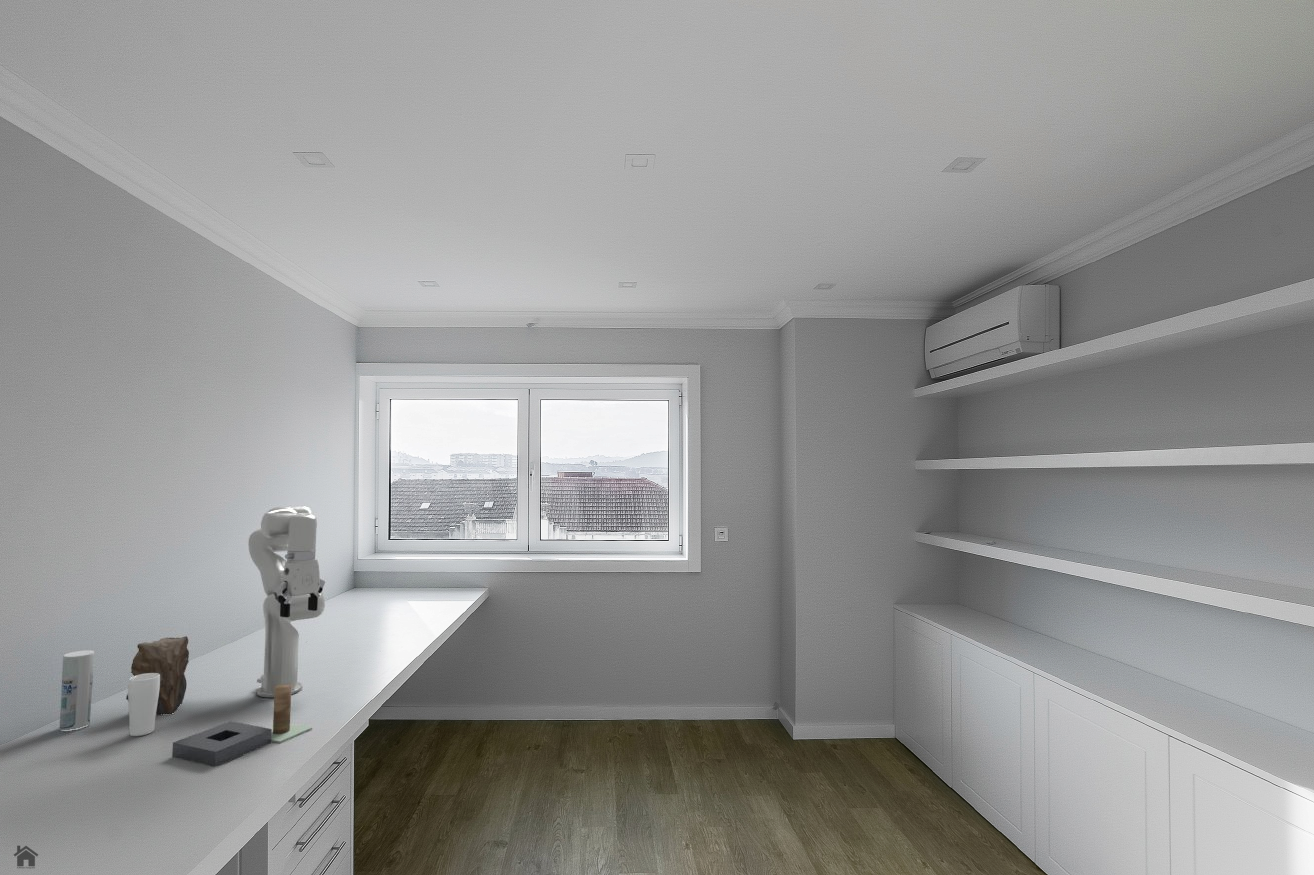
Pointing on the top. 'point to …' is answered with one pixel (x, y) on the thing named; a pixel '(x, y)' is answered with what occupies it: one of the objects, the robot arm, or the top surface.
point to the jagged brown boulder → (164, 669)
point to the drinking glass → (143, 703)
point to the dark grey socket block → (221, 743)
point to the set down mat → (289, 733)
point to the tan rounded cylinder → (282, 708)
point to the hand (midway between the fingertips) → (299, 613)
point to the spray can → (76, 689)
